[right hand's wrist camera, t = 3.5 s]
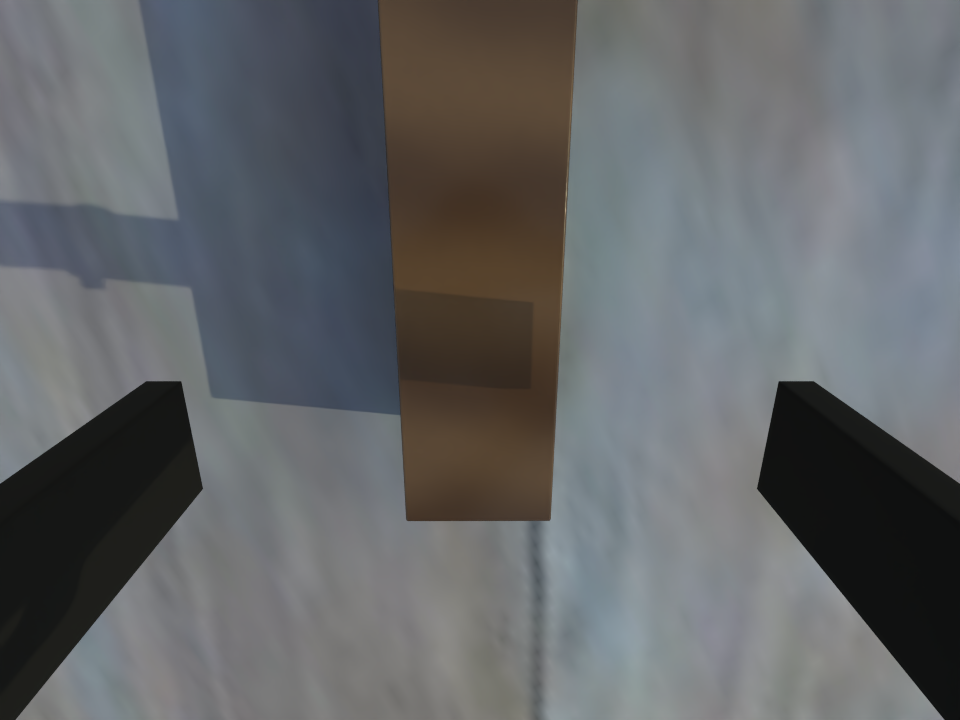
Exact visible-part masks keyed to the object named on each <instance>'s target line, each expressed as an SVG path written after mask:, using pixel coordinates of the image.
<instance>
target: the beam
mask: <svg viewBox="0 0 960 720" xmlns="http://www.w3.org/2000/svg"><path fill="white" fill-rule="evenodd" d="M577 4H578V0H378V12H379V30H380V48H381V66H382V85H383V103H384V121H385V140H386V158H387V176H388V195H389V213H390V231H391V250H392V268H393V286H394V305H395V323H396V341H397V360H398V378H399V396H400V415H401V433H402V451H403V469H404V488H405V506H406V520H407V521H549V520H550V519H551V501H552V482H553V463H554V444H555V425H556V406H557V386H558V367H559V348H560V329H561V310H562V291H563V272H564V252H565V233H566V214H567V195H568V176H569V157H570V138H571V119H572V99H573V80H574V61H575V42H576V23H577Z"/></svg>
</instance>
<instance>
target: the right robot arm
mask: <svg viewBox="0 0 960 720" xmlns="http://www.w3.org/2000/svg"><path fill="white" fill-rule="evenodd" d="M202 489H203V487H202V482H201V477H200V472H199V467H198V462H197V457H196V452H195V447H194V442H193V437H192V433H191V428H190V423H189V418H188V413H187V408H186V403H185V398H184V393H183V388H182V383H181V381H146V382H145V383H143V384H142V385H140V386H139V387H138V388H136V389H135V390H133V391H132V392H130V393H129V394H128V395H126V396H125V397H123V398H122V399H121V400H119V401H118V402H116V403H115V404H113V405H112V406H111V407H109V408H108V409H106V410H105V411H103V412H102V413H101V414H99V415H98V416H96V417H95V418H93V419H92V420H91V421H89V422H88V423H86V424H85V425H83V426H82V427H81V428H79V429H78V430H76V431H75V432H73V433H72V434H71V435H69V436H68V437H66V438H65V439H63V440H62V441H61V442H59V443H58V444H56V445H55V446H53V447H52V448H51V449H49V450H48V451H46V452H45V453H43V454H42V455H41V456H39V457H38V458H36V459H35V460H34V461H32V462H31V463H29V464H28V465H26V466H25V467H24V468H22V469H21V470H19V471H18V472H16V473H15V474H14V475H12V476H11V477H9V478H8V479H6V480H5V481H4V482H2V483H1V484H0V720H16V718H17V717H18V716H19V715H20V713H21V712H22V711H23V710H24V709H25V707H26V706H27V705H28V704H29V702H30V701H31V700H32V699H33V697H34V696H35V695H36V694H37V693H38V691H39V690H40V689H41V688H42V686H43V685H44V684H45V683H46V681H47V680H48V679H49V678H50V677H51V675H52V674H53V673H54V672H55V670H56V669H57V668H58V667H59V665H60V664H61V663H62V662H63V661H64V659H65V658H66V657H67V656H68V654H69V653H70V652H71V651H72V649H73V648H74V647H75V646H76V645H77V643H78V642H79V641H80V640H81V638H82V637H83V636H84V635H85V633H86V632H87V631H88V630H89V628H90V627H91V626H92V625H93V624H94V622H95V621H96V620H97V619H98V617H99V616H100V615H101V614H102V612H103V611H104V610H105V609H106V608H107V606H108V605H109V604H110V603H111V601H112V600H113V599H114V598H115V596H116V595H117V594H118V593H119V592H120V590H121V589H122V588H123V587H124V585H125V584H126V583H127V582H128V580H129V579H130V578H131V577H132V576H133V574H134V573H135V572H136V571H137V569H138V568H139V567H140V566H141V564H142V563H143V562H144V561H145V560H146V558H147V557H148V556H149V555H150V553H151V552H152V551H153V550H154V548H155V547H156V546H157V545H158V543H159V542H160V541H161V540H162V539H163V537H164V536H165V535H166V534H167V532H168V531H169V530H170V529H171V527H172V526H173V525H174V524H175V523H176V521H177V520H178V519H179V518H180V516H181V515H182V514H183V513H184V511H185V510H186V509H187V508H188V507H189V505H190V504H191V503H192V502H193V500H194V499H195V498H196V497H197V495H198V494H199V493H200V492H201V491H202ZM757 489H758V491H759V492H760V493H761V494H762V495H763V497H764V498H765V499H766V500H767V502H768V503H769V504H770V505H771V507H772V508H773V509H774V510H775V511H776V513H777V514H778V515H779V516H780V518H781V519H782V520H783V521H784V523H785V524H786V525H787V526H788V527H789V529H790V530H791V531H792V532H793V534H794V535H795V536H796V537H797V539H798V540H799V541H800V542H801V543H802V545H803V546H804V547H805V548H806V550H807V551H808V552H809V553H810V555H811V556H812V557H813V558H814V560H815V561H816V562H817V563H818V564H819V566H820V567H821V568H822V569H823V571H824V572H825V573H826V574H827V576H828V577H829V578H830V579H831V580H832V582H833V583H834V584H835V585H836V587H837V588H838V589H839V590H840V592H841V593H842V594H843V595H844V596H845V598H846V599H847V600H848V601H849V603H850V604H851V605H852V606H853V608H854V609H855V610H856V611H857V612H858V614H859V615H860V616H861V617H862V619H863V620H864V621H865V622H866V624H867V625H868V626H869V627H870V628H871V630H872V631H873V632H874V633H875V635H876V636H877V637H878V638H879V640H880V641H881V642H882V643H883V645H884V646H885V647H886V648H887V649H888V651H889V652H890V653H891V654H892V656H893V657H894V658H895V659H896V661H897V662H898V663H899V664H900V665H901V667H902V668H903V669H904V670H905V672H906V673H907V674H908V675H909V677H910V678H911V679H912V680H913V681H914V683H915V684H916V685H917V686H918V688H919V689H920V690H921V691H922V693H923V694H924V695H925V696H926V697H927V699H928V700H929V701H930V702H931V704H932V705H933V706H934V707H935V709H936V710H937V711H938V712H939V713H940V715H941V716H942V717H943V718H944V720H960V484H959V483H958V482H956V481H955V480H954V479H952V478H951V477H949V476H948V475H946V474H945V473H944V472H942V471H941V470H939V469H938V468H936V467H935V466H934V465H932V464H931V463H929V462H928V461H926V460H925V459H924V458H922V457H921V456H919V455H918V454H917V453H915V452H914V451H912V450H911V449H909V448H908V447H907V446H905V445H904V444H902V443H901V442H899V441H898V440H897V439H895V438H894V437H892V436H891V435H889V434H888V433H887V432H885V431H884V430H882V429H881V428H879V427H878V426H877V425H875V424H874V423H872V422H871V421H869V420H868V419H867V418H865V417H864V416H862V415H861V414H859V413H858V412H857V411H855V410H854V409H852V408H851V407H849V406H848V405H847V404H845V403H844V402H842V401H841V400H839V399H838V398H837V397H835V396H834V395H832V394H831V393H830V392H828V391H827V390H825V389H824V388H822V387H821V386H820V385H818V384H817V383H815V382H814V381H779V383H778V388H777V393H776V398H775V403H774V408H773V413H772V418H771V423H770V428H769V433H768V437H767V442H766V447H765V452H764V457H763V462H762V467H761V472H760V477H759V482H758V487H757Z"/></svg>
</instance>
